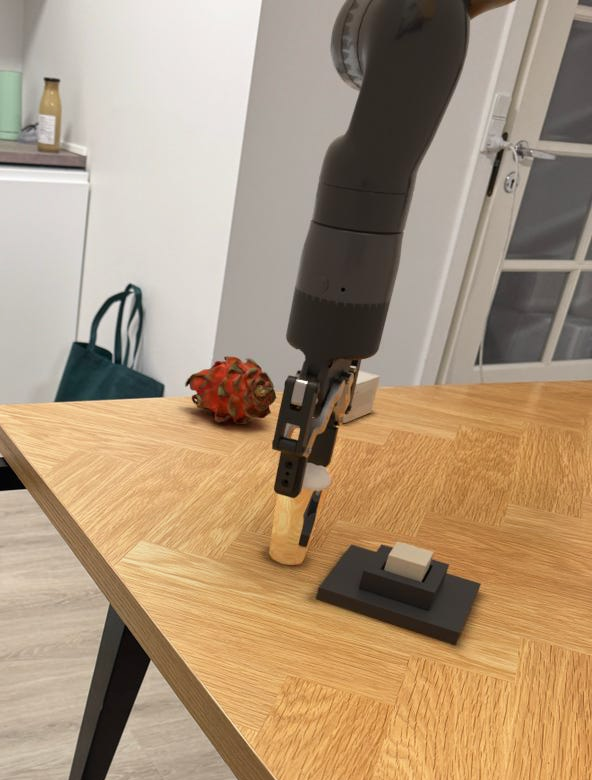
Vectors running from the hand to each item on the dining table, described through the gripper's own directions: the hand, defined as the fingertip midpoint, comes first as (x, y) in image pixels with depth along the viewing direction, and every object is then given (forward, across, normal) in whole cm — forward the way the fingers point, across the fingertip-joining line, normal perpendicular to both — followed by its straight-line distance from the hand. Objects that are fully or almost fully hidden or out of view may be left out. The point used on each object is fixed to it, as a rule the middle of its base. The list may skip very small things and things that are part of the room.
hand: (302, 478), depth 79 cm
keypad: (+8, -1, -11) cm, 13 cm away
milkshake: (+8, 0, 0) cm, 8 cm away
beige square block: (+5, -1, -11) cm, 12 cm away
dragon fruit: (+8, +31, +19) cm, 37 cm away
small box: (+8, +45, +9) cm, 47 cm away
